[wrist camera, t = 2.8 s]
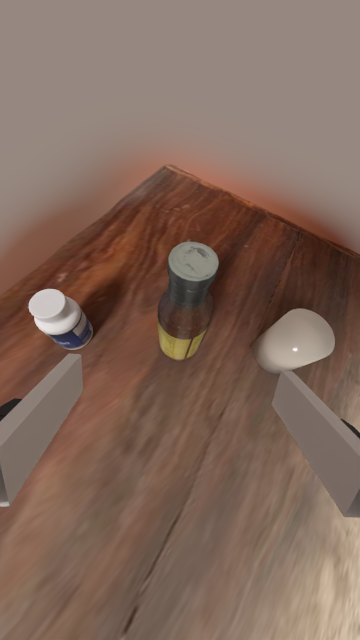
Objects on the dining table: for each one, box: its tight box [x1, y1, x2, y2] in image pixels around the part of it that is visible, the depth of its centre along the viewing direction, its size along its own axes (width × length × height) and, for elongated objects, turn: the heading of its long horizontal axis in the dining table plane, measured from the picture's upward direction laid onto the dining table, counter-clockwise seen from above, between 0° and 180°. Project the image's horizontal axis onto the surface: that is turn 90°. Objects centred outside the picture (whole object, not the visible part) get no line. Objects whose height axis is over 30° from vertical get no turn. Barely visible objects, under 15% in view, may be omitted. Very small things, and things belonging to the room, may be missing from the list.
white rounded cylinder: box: [253, 309, 335, 374], centre depth 31 cm, size 7×7×9 cm
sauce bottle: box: [158, 242, 219, 360], centre depth 25 cm, size 6×6×20 cm
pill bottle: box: [29, 289, 93, 350], centre depth 29 cm, size 5×5×10 cm
